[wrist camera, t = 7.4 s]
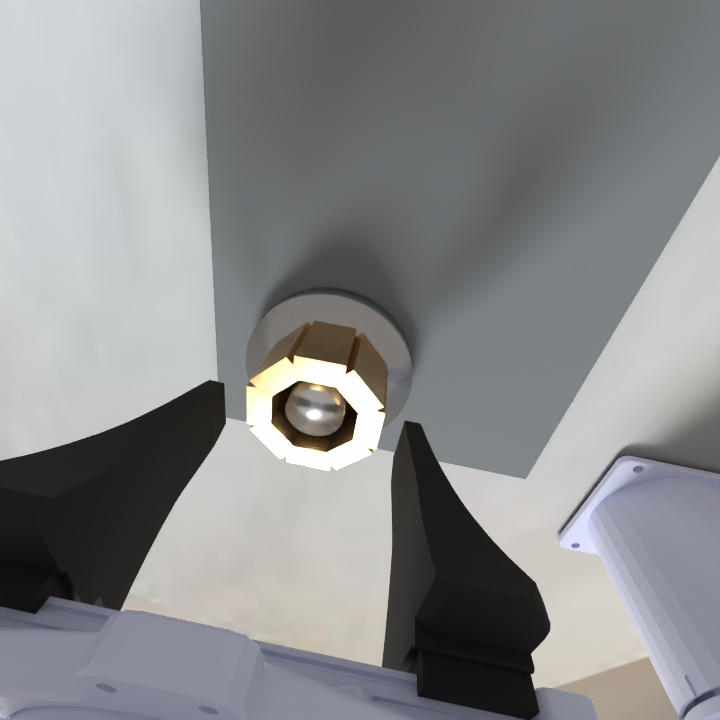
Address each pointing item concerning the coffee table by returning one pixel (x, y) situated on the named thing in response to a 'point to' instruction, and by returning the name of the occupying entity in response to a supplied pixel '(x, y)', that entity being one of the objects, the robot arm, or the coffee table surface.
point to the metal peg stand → (345, 308)
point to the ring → (327, 367)
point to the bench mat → (456, 186)
